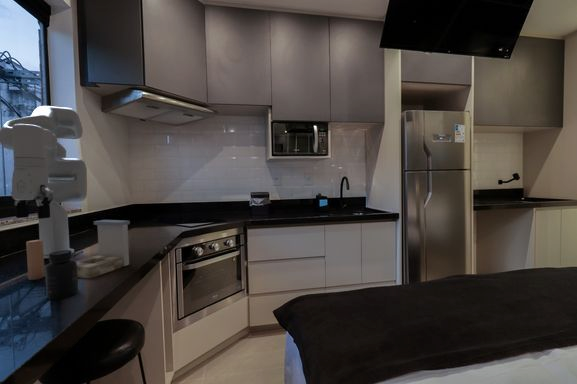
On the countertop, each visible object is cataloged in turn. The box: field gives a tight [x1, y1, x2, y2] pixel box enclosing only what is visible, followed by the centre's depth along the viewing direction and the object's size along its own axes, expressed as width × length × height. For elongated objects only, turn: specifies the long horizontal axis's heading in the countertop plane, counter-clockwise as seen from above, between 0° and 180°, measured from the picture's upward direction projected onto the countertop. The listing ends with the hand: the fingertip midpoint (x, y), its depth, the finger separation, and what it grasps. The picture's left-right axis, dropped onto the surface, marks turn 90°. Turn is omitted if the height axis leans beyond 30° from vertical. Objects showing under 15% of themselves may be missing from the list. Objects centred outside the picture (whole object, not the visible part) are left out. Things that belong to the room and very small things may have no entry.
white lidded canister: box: [93, 219, 131, 267], centre depth 105 cm, size 12×4×16 cm, turn 74°
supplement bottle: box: [44, 250, 80, 301], centre depth 77 cm, size 7×7×12 cm
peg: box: [25, 239, 46, 281], centre depth 92 cm, size 4×4×12 cm
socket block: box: [75, 254, 123, 279], centre depth 98 cm, size 12×12×4 cm
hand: (33, 217), depth 91 cm, fingers open, 9 cm apart
